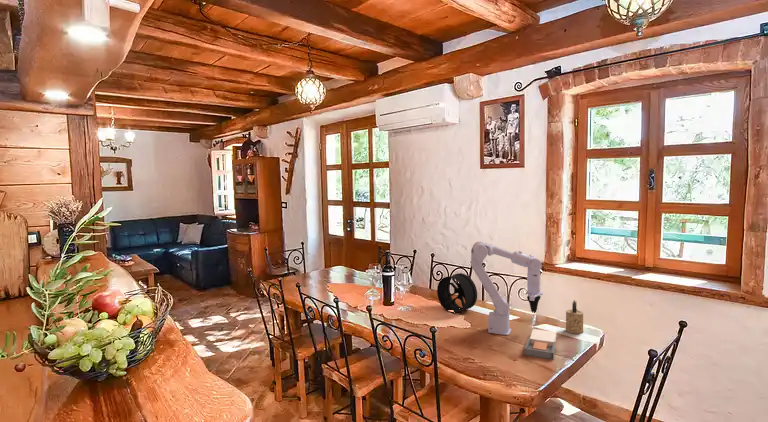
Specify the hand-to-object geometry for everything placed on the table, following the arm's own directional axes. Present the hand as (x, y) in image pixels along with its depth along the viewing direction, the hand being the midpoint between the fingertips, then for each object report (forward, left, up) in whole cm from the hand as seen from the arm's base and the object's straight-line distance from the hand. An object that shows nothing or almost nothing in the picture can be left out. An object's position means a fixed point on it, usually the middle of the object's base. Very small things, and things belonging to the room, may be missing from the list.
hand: (533, 311), depth 191 cm
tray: (+5, -21, -10) cm, 24 cm away
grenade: (+17, +8, -10) cm, 21 cm away
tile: (+5, -20, -10) cm, 23 cm away
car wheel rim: (-42, +16, -10) cm, 46 cm away
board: (+5, -9, -10) cm, 14 cm away
